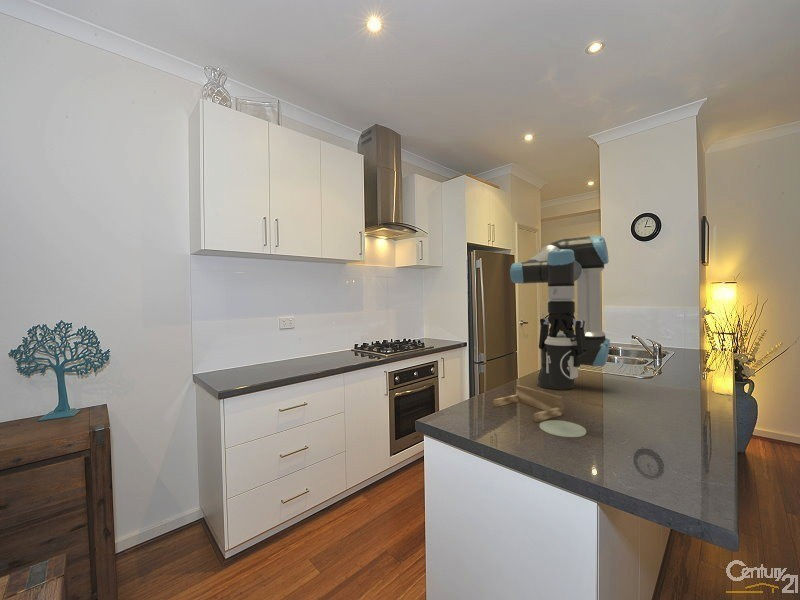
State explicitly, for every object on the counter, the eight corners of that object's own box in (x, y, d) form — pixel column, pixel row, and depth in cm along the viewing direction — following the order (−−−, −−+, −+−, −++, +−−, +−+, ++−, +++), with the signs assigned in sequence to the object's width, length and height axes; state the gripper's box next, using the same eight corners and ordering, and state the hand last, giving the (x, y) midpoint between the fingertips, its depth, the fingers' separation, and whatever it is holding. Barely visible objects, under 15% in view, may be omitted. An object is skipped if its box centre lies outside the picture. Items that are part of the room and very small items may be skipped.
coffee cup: (571, 381, 111) (570, 334, 111) (585, 389, 101) (584, 338, 101) (540, 381, 112) (540, 335, 111) (551, 389, 102) (550, 338, 102)
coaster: (557, 418, 115) (557, 417, 115) (595, 431, 104) (595, 430, 104) (530, 426, 109) (530, 425, 109) (568, 440, 98) (568, 439, 98)
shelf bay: (518, 400, 136) (518, 385, 136) (563, 414, 119) (563, 397, 119) (493, 406, 129) (493, 390, 129) (536, 422, 112) (536, 403, 112)
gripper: (525, 300, 113) (526, 370, 113) (585, 300, 95) (586, 383, 96) (541, 300, 117) (541, 367, 117) (601, 300, 99) (601, 380, 99)
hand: (561, 374), depth 106 cm, fingers closed on coffee cup, 7 cm apart
